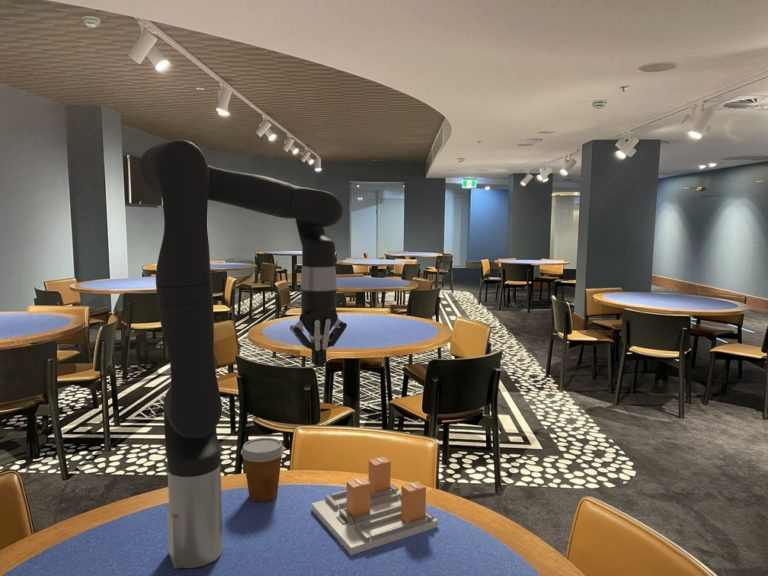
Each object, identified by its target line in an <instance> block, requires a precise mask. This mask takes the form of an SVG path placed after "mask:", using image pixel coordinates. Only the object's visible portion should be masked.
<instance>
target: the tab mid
mask: <svg viewBox="0 0 768 576" xmlns="http://www.w3.org/2000/svg"><path fill="white" fill-rule="evenodd" d="M346 490H347V514H348V515H349V516H350V517H351V518H352V519H353V520H354V518H355V517H359V516H362V515H366V514H369V513H370V482H369V480H367V479H366V478H365V477H364V476H363V477H359V478H355V479H352V480H347V481H346Z"/></svg>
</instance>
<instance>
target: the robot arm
mask: <svg viewBox="0 0 768 576" xmlns="http://www.w3.org/2000/svg"><path fill="white" fill-rule="evenodd" d="M137 170H138V175H139V177H140V180H141V182H142V183H143V185H144V186H145V187H146V188H147V190H149V191H151V193H153V194H156V195H157V196H160V197H161V201H162V202H161V203H162V209H163V219H164V223H163V224H164V225H163V235H162V242H161V245H160V248H159V254H158V259H157V263H156V269H155V286H156V287H155V289H156V301H157V302H156V303H157V309H158V316H159V321H160V322H159V323H160V326H161V331H162V334H163V338H164V343H165V346H166V350H167V353H168V358H169V363H170V364H169V365H170V387H169V388H168V390H166V393H165V397H164V399H163V424H164V425H163V426H164V427H163V428H164V430H163V431H164V444H165V445H164V446H165V454H166V463H167V485H168V486H167V488H168V489H167V490H168V491H167V493H168V504H167V505H166V515H167V516H166V518H167V521H166V522H167V545H168V547H167V548H168V549H167V550H168V551H167V552H168V554H169V559H170V561H171V564H172V566H173V569H175V570H177V569H183V568H184V569H195V568H200V567H203V566H207V565H209V564H212V563H213V562H215V561H216V560H217V559H219V557H221V555H222V553H223V550H224V549H223V541H224V540H223V513H222V512H223V510H222V507H223V506H222V475H221V472H222V468H221V449H220V444H219V439H218V433H217V426H218V424H219V422H220V421H221V417H222V412H223V404H222V397H221V393H220V388H219V387H220V386H219V383H218V376H217V370H216V363H215V350H214V349H215V347H214V346H215V345H214V344H215V328H214V327H215V324H214V323H215V321H214V314H215V313H214V291H213V290H214V289H213V282H212V281H213V279H212V278H213V277H212V269H211V258H210V257H211V256H210V255H211V254H210V253H211V252H210V242H209V232H208V212H209V211H208V206H209V205H208V204H209V201H211V202H212V201H213V202H216V203H217V202H218V203H222V204H227V205H232V206H234V207H238V208H241V209H246V210H250V211H254V212H255V213H261V214H265V215H269V216H273V217H276V218H282V219H294V220H295V225H296V227H297V232H298V236H299V239H300V244H301V247H302V250H301V255H302V256H301V257H302V258H301V267H302V268H301V275H300V289H301V290H300V292H301V293H300V299H301V300H300V301H301V302H300V304H301V305H300V306H301V307H300V308H301V309H300V310H301V312H300V315H299V320H298V321H297V322H296V323H295V325H293V324H291V325H290V326H289V330H290V331H291V332H292V334H293V335H294V336H295V338H296V339H297V340H298V341H299V342H300V343H301V344H302V346H303V347H304V348H307V349H308V350H311V364H313V366H314V367H315V368H324V367H325V365H326V363H327V349H328V348H330V347H334V346H335V345H336V344H337V342H338V340H339V339H340V338H341V336H342V334H343V333H344V332H345V330H346V328H347V327H348V324H347V322H344V321H342V320H341V319H340V318H339V315H338V312H337V271H336V245H335V241H334V240H332V239H331V238H328V237H327V236H326V233H325V227H331V226H334V225H336V224H337V223H338V222H339V221H340V220H341V219H342V217H343V216H342V215H343V212H344V211H343V209H344V208H343V206H342V202H341V201H340V199H339V197H337V196H336V195H334V194H333V193H332V192H328V191H325V190H319V189H313V188H309V187H303V186H297V185H294V184H291V183H288V182H285V181H282V180H279V179H276V178H272V177H269V176H265V175H261V174H252V173H246V172H239V171H235V170H229V169H228V170H227V169H224V168H219V167H216V166H212V165H209V164H208V162H207V159H206V157H205V155H204V153H203V152H202V150H201V149H200V148H199V147H198V146H197V145H196V144H195V143H193V142H191V141H189V140H186V139H173V140H171V141H165V142H163V143H158V144H156V145H154V146H152V147H150V148H148V149H147V150H146V151H145V152H144V153H143V154H142V155H141V157H140V159H139V161H138V167H137ZM304 330H306V331H307V333H308V337H307V336H306V335H305V333H304ZM308 338H309V339H308Z"/></svg>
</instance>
